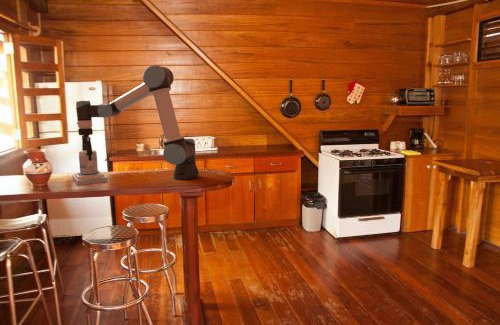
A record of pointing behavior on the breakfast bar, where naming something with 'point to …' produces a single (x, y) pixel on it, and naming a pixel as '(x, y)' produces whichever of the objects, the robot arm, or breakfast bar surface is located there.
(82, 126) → the robot arm
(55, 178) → the breakfast bar surface
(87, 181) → the base plate
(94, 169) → the supplement tub
